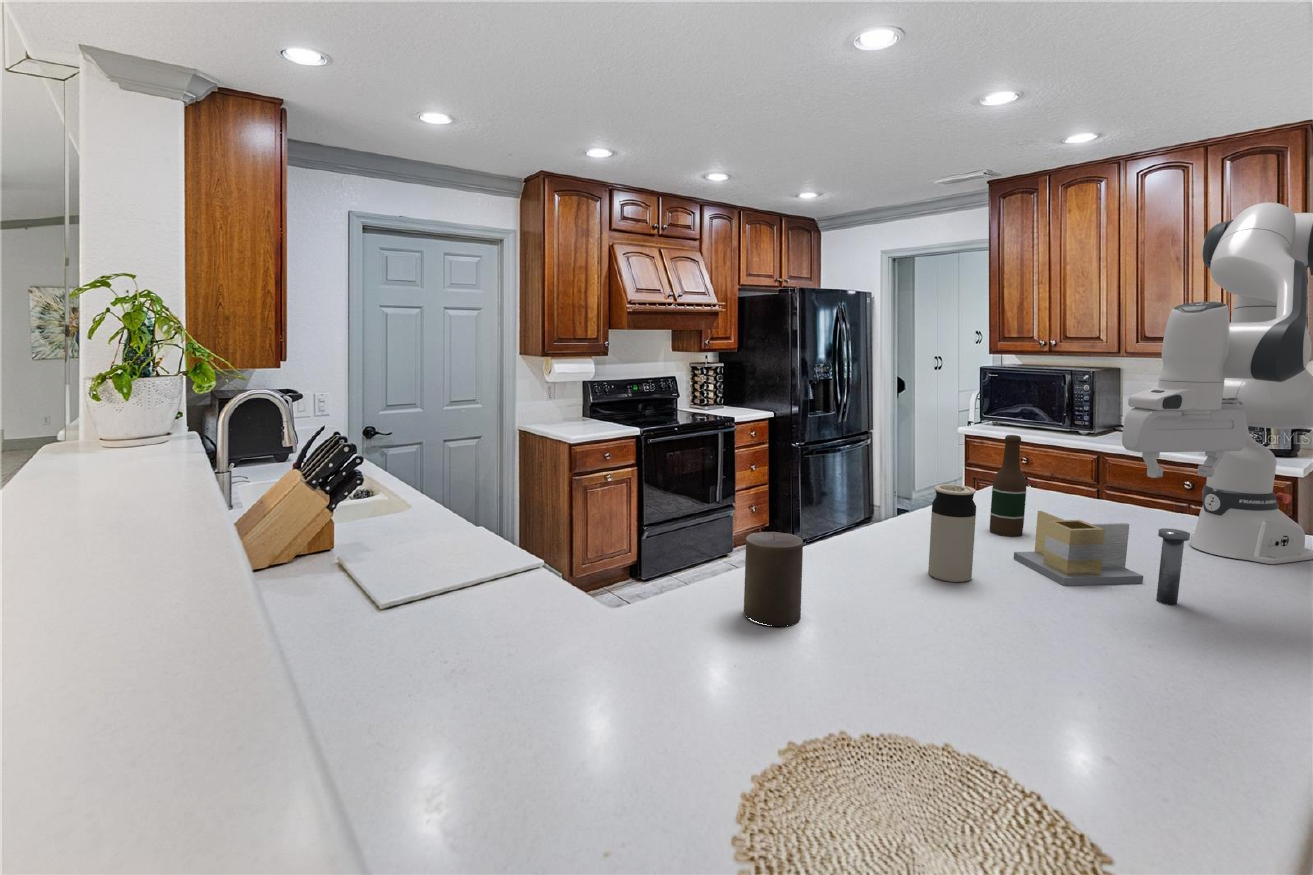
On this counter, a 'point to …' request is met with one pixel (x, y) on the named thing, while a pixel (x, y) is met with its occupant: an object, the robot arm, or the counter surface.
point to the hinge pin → (1170, 564)
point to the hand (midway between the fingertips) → (1180, 476)
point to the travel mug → (952, 533)
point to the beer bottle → (1009, 493)
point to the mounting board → (1106, 576)
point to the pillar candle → (773, 578)
